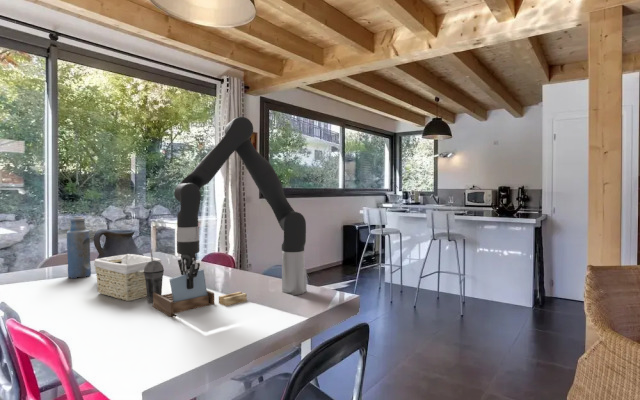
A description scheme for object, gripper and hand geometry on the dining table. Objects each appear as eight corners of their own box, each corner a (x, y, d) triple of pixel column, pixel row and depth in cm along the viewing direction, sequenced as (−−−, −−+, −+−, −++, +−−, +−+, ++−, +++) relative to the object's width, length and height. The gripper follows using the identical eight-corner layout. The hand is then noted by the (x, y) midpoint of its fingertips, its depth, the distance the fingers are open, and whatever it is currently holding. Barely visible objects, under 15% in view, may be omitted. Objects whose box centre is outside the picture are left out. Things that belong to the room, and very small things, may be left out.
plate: (206, 297, 138) (202, 268, 137) (207, 298, 137) (203, 269, 136) (174, 309, 130) (169, 278, 129) (175, 310, 129) (170, 279, 128)
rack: (195, 297, 148) (194, 285, 147) (214, 306, 136) (214, 292, 136) (153, 306, 136) (152, 293, 136) (170, 317, 125) (170, 302, 125)
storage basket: (164, 293, 155) (163, 257, 154) (125, 303, 141) (125, 264, 141) (131, 286, 168) (130, 253, 167) (93, 294, 154) (92, 259, 154)
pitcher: (153, 277, 183) (152, 226, 182) (108, 287, 164) (106, 231, 164) (129, 273, 194) (128, 225, 193) (84, 282, 175) (83, 228, 175)
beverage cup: (168, 299, 146) (167, 248, 145) (155, 304, 139) (153, 250, 139) (153, 297, 148) (152, 247, 148) (139, 302, 141) (138, 250, 141)
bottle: (83, 278, 183) (81, 217, 182) (63, 278, 183) (61, 217, 182) (95, 274, 192) (93, 215, 191) (76, 274, 192) (74, 216, 192)
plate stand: (239, 300, 143) (239, 291, 143) (247, 303, 140) (247, 293, 139) (218, 305, 137) (218, 296, 137) (225, 308, 133) (225, 298, 133)
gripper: (207, 240, 130) (207, 289, 131) (189, 236, 140) (190, 283, 140) (186, 242, 125) (187, 294, 125) (169, 238, 135) (170, 286, 135)
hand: (189, 288), depth 133 cm, fingers closed on plate, 1 cm apart
